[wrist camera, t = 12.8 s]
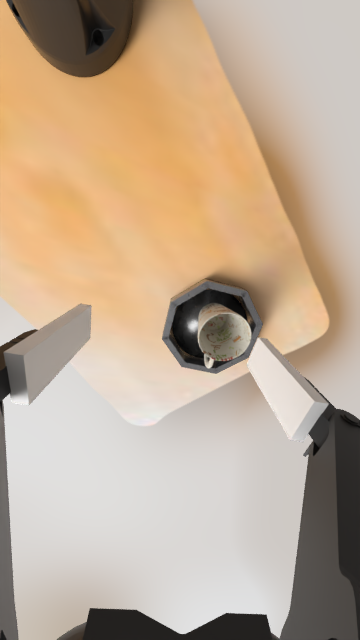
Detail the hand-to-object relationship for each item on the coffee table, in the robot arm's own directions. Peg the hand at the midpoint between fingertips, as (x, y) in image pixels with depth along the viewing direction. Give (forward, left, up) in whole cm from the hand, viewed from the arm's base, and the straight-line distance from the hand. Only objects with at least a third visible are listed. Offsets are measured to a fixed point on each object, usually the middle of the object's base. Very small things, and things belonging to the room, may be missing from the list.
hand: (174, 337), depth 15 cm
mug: (+6, +9, -23) cm, 26 cm away
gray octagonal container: (+7, +9, -23) cm, 26 cm away
